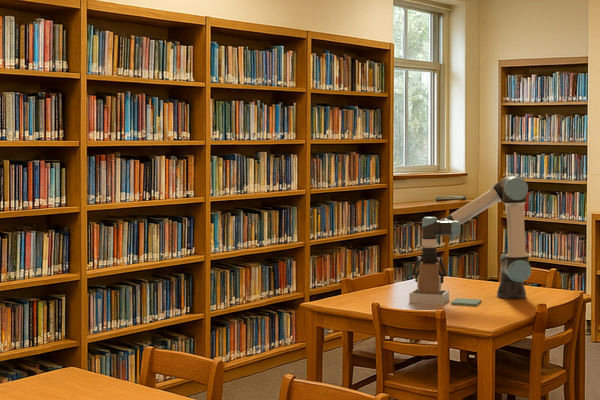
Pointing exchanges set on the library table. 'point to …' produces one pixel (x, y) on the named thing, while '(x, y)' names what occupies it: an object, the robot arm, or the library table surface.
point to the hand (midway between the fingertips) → (429, 288)
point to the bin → (429, 297)
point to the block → (429, 278)
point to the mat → (466, 302)
